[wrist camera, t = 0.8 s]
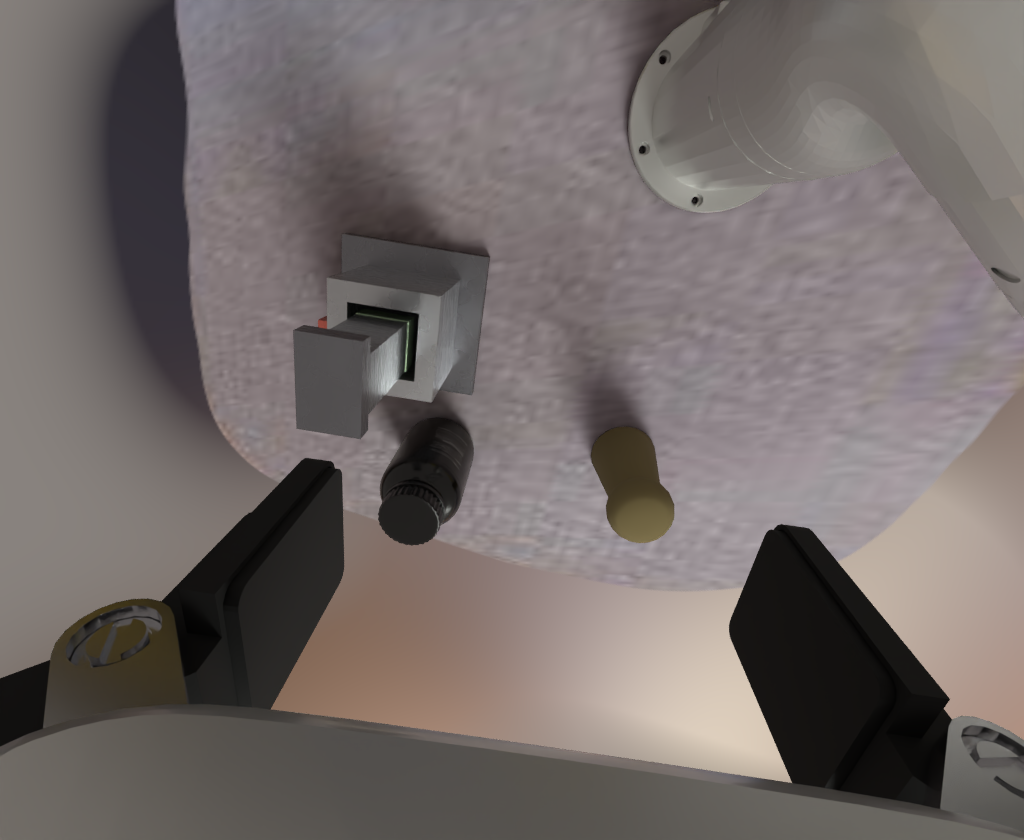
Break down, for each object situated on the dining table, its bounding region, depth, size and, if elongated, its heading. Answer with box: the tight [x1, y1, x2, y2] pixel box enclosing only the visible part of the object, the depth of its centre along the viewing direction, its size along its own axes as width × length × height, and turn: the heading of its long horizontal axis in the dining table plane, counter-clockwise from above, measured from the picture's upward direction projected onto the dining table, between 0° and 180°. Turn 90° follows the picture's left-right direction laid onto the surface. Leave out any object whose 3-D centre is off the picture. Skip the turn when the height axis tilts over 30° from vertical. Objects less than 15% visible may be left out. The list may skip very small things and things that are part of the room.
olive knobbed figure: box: [591, 426, 674, 543], centre depth 42 cm, size 6×6×11 cm
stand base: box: [318, 233, 490, 403], centre depth 38 cm, size 12×12×9 cm
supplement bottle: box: [378, 418, 474, 545], centre depth 42 cm, size 7×7×12 cm
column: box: [293, 306, 419, 439], centre depth 34 cm, size 6×4×17 cm, turn 171°
